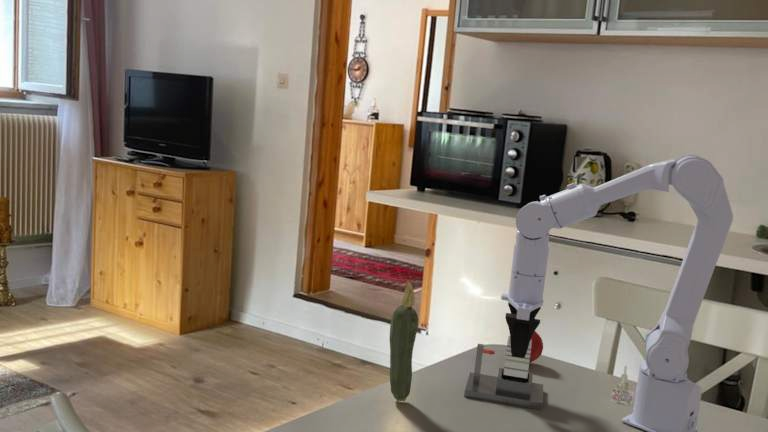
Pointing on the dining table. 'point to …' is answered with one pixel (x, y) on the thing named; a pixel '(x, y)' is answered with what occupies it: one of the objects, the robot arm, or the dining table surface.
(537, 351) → the onion
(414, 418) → the dining table surface
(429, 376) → the dining table surface
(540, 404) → the jack base
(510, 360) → the column
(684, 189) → the robot arm
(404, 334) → the vegetable
